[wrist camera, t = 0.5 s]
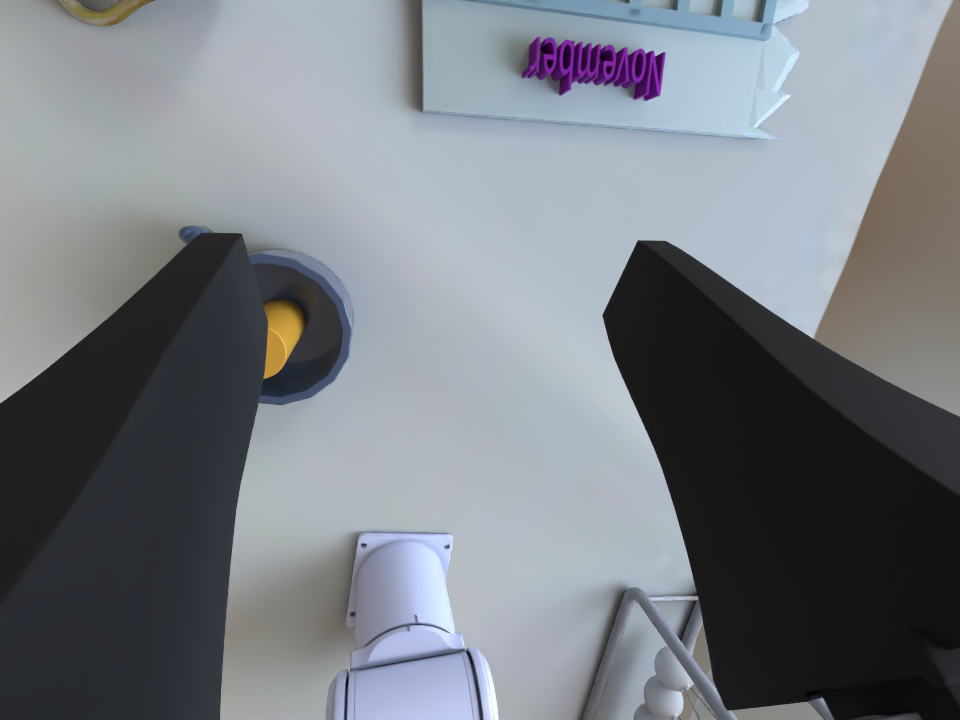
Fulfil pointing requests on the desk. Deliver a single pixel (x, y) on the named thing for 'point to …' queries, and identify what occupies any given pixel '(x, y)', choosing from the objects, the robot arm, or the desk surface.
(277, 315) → the peg
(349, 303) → the cup
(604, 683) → the newton's cradle
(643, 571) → the desk surface
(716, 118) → the calendar
